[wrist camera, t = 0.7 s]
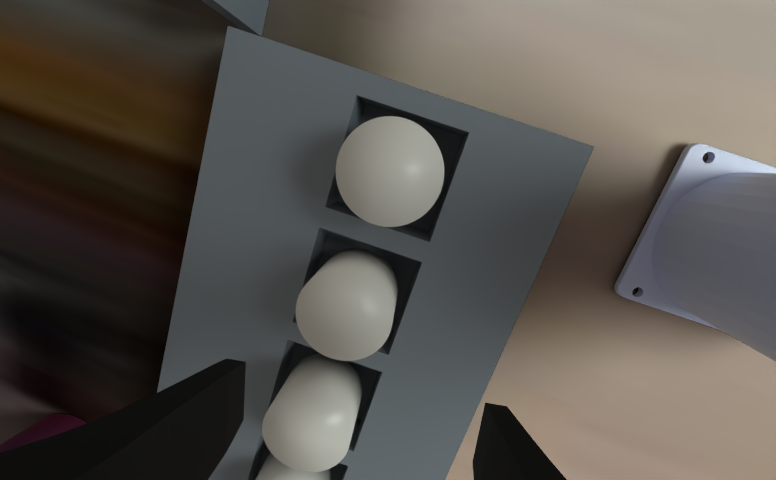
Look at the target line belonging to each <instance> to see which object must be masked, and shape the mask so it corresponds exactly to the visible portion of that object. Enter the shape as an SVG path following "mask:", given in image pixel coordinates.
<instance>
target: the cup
mask: <svg viewBox="0 0 776 480" xmlns="http://www.w3.org/2000/svg"><path fill="white" fill-rule="evenodd" d="M84 424H86V422H85V421H83V420H82V419H80V418H77V417H75V416H72V415H69V414H61V413H59V414H52V415H49V416H47V417H45V418H43V419H42V420H40V421H39V422H37V423H35V424H34V425H32V426H30V427H29V428H27V429H26V430H24V431H22V432H21V433H19V434H17V435H16V436H14V437H13V438H11V439H9V440H8V441H6V442H4V443H3V444H1V445H0V453H1V452H4V451H7V450H10V449H14V448H17V447H20V446H23V445H26V444H29V443H32V442H35V441H38V440H41V439H44V438H47V437H50V436H54V435H57V434H60V433H62V432H65V431H68V430H71V429H73V428H76V427H78V426H81V425H84Z"/></svg>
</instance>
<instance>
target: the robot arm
mask: <svg viewBox="0 0 776 480" xmlns="http://www.w3.org/2000/svg"><path fill="white" fill-rule="evenodd" d="M705 153H707V154H708V160H707V161H706V162H703V155H704V154H705ZM637 287H638V288H639V291H638V292H637V293H636V294H632V292H633V290H634V289H635V288H637ZM614 288H615V291H616V293H617V294H619V295H620V296H622V297H624V298H627V299H629V300H632V301H635V302H638V303H641V304H644V305H647V306H650V307H653V308H656V309H659V310H662V311H665V312H668V313H671V314H674V315H677V316H680V317H683V318H686V319H689V320H692V321H695V322H698V323H701V324H704V325H707V326H710V327H713V328H715V329H718V330H721V331H723V332H725V333H727V334H729V335H730V336H732V337H734V338H736V339H737V340H739V341H741V342H743V343H744V344H746V345H748V346H750V347H751V348H753V349H755V350H757V351H758V352H760V353H762V354H764V355H765V356H767V357H769V358H771V359H772V360H774V361H776V167H773V166H770V165H767V164H764V163H761V162H758V161H755V160H752V159H748V158H745V157H742V156H739V155H736V154H733V153H730V152H727V151H724V150H721V149H718V148H715V147H712V146H709V145H706V144H702V143H693V144H690V145H688V146H687V147H685V149H684V150H683V151H682V153H681V155H680V157H679V159H678V161H677V163H676V165H675V167H674V169H673V171H672V173H671V175H670V177H669V179H668V181H667V183H666V185H665V187H664V189H663V191H662V193H661V195H660V197H659V199H658V201H657V203H656V205H655V207H654V208H653V210H652V212H651V214H650V216H649V218H648V220H647V222H646V224H645V226H644V228H643V230H642V232H641V234H640V236H639V238H638V240H637V242H636V244H635V246H634V248H633V250H632V252H631V254H630V256H629V258H628V260H627V262H626V264H625V266H624V268H623V270H622V272H621V274H620V275H619V277H618V279H617V281H616V283H615V287H614ZM245 371H246V362H244V361H239V360H233V359H224V360H222V361H220V362H218V363H215V364H213V365H211V366H209V367H207V368H205V369H203V370H201V371H199V372H197V373H195V374H194V375H192V376H190V377H188V378H186V379H184V380H182V381H180V382H178V383H176V384H174V385H172V386H170V387H168V388H166V389H164V390H162V391H160V392H158V393H155V394H153V395H151V396H149V397H147V398H145V399H142V400H140V401H138V402H136V403H134V404H131V405H129V406H127V407H125V408H123V409H121V410H118V411H116V412H114V413H111V414H109V415H107V416H104V417H102V418H99V419H97V420H94V421H92V422H89V423H86V424H84V425H81V426H78V427H76V428H73V429H71V430H68V431H65V432H62V433H60V434H57V435H54V436H50V437H47V438H44V439H41V440H38V441H35V442H32V443H29V444H26V445H23V446H20V447H17V448H14V449H10V450H7V451H4V452H1V453H0V480H208V479H209V477H210V476H211V474H212V473H213V472H214V470H215V469H216V467H217V466H218V464H219V463H220V461H221V460H222V458H223V457H224V455H225V454H226V452H227V450H228V448H229V447H230V445H231V443H232V441H233V439H234V437H235V436H236V434H237V432H238V430H239V428H240V426H241V424H242V422H243V420H244V396H245ZM473 472H474V480H566V478H565V477H564V476H563V475H562V474H561V473H560V472H559V470H558V469H557V468H556V467H555V466H554V465H553V463H552V462H551V461H550V460H549V459H548V457H547V456H546V455H545V454H544V453H543V451H542V450H541V449H540V448H539V446H538V445H537V444H536V443H535V441H534V440H533V439H532V438H531V436H530V435H529V434H528V433H527V431H526V430H525V429H524V428H523V426H522V425H521V424H520V422H519V421H518V420H517V419H516V417H515V416H514V415H513V414H512V412H511V411H510V410H509V409H508V407H507V406H501V405H495V404H489V403H485V407H484V412H483V416H482V421H481V426H480V430H479V435H478V440H477V444H476V449H475V454H474V458H473Z"/></svg>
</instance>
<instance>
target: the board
mask: <svg viewBox="0 0 776 480" xmlns="http://www.w3.org/2000/svg"><path fill="white" fill-rule="evenodd" d="M384 116H395V117H402V118H405V119H408V120H411V121H413V122H415V123H417V124H419V125H420V126H421V127H423V128H424V129H425V130H426V131H427V132H428V133H429V134H430V135H431V136H432V137H433V139H434V140H435V141H436V143H437V145H438V147H439V149H440V151H441V154H442V158H443V162H444V181H443V186H442V189H441V192H440V194H439V197H438V199H437V200H436V202H435V204H434V205H433V206H432V207H431V209H430V210H429V211H428V212H427V213H426V214H424V215H423V216H422V217H421V218H419V219H417V220H416V221H414V222H411V223H409V224H406V225H403V226H397V227H383V226H378V225H374V224H371V223H369V222H366V221H365V220H363V219H361V218H360V217H358V216H357V215H356V214H355V213H354V212H352V211H351V210H350V208H349V207H348V206H347V205H346V203H345V202H344V200H343V198H342V196H341V194H340V192H339V189H338V186H337V181H336V162H337V157H338V154H339V151H340V149H341V147H342V145H343V143H344V141H345V140H346V138H347V137H348V136H349V135H350V134H351V132H352V131H353V130H355V129H356V128H357V127H358V126H360V125H361V124H363V123H365V122H367V121H369V120H371V119H375V118H378V117H384ZM593 148H594V146H591V145H588V144H585V143H582V142H579V141H576V140H573V139H569V138H566V137H563V136H560V135H557V134H554V133H551V132H548V131H545V130H542V129H539V128H536V127H533V126H530V125H527V124H524V123H521V122H518V121H515V120H512V119H509V118H506V117H503V116H500V115H497V114H494V113H491V112H488V111H485V110H482V109H479V108H476V107H473V106H470V105H467V104H464V103H460V102H457V101H454V100H451V99H448V98H445V97H442V96H439V95H436V94H433V93H430V92H427V91H424V90H421V89H418V88H415V87H412V86H409V85H406V84H403V83H400V82H397V81H394V80H391V79H388V78H385V77H382V76H379V75H376V74H373V73H370V72H367V71H364V70H361V69H358V68H355V67H352V66H348V65H345V64H342V63H339V62H336V61H333V60H330V59H327V58H324V57H321V56H318V55H315V54H312V53H309V52H306V51H303V50H300V49H297V48H294V47H291V46H288V45H285V44H282V43H279V42H276V41H273V40H270V39H267V38H264V37H261V36H258V35H255V34H252V33H249V32H246V31H243V30H240V29H236V28H233V27H230V26H228V27H227V33H226V38H225V43H224V48H223V53H222V58H221V64H220V69H219V74H218V79H217V84H216V90H215V95H214V100H213V105H212V110H211V115H210V121H209V126H208V131H207V136H206V141H205V146H204V152H203V157H202V162H201V167H200V172H199V177H198V183H197V188H196V193H195V198H194V203H193V208H192V214H191V219H190V224H189V229H188V234H187V239H186V245H185V250H184V255H183V260H182V265H181V270H180V276H179V281H178V286H177V291H176V296H175V301H174V307H173V312H172V317H171V322H170V327H169V332H168V338H167V343H166V348H165V353H164V358H163V363H162V369H161V374H160V379H159V384H158V389H157V393H158V392H160V391H162V390H164V389H166V388H168V387H170V386H172V385H174V384H176V383H178V382H180V381H182V380H184V379H186V378H188V377H190V376H192V375H194V374H195V373H197V372H199V371H201V370H203V369H205V368H207V367H209V366H211V365H213V364H215V363H218V362H220V361H222V360H224V359H233V360H239V361H244V362H246V371H245V396H244V420H243V422H242V424H241V426H240V428H239V430H238V432H237V434H236V436H235V437H234V439H233V441H232V443H231V445H230V447H229V448H228V450H227V452H226V454H225V455H224V457H223V458H222V460H221V461H220V463H219V464H218V466H217V467H216V469H215V470H214V472H213V473H212V474H211V476H210V477H209V479H208V480H255V479H256V478H257V476H258V474H259V472H260V470H261V468H262V466H263V464H264V462H265V460H266V458H267V457H268V455H269V454H270V453H271V452H270V450H269V449H268V447H267V445H266V443H265V441H264V438H263V433H262V424H263V419H264V417H265V414H266V412H267V411H268V409H269V407H270V406H271V404H272V402H273V401H274V399H275V398H276V396H277V394H278V393H279V391H280V389H281V388H282V386H283V385H284V383H285V381H286V380H287V378H288V376H289V375H290V373H291V372H292V370H293V368H294V367H295V366H296V364H297V363H298V362H299V361H301V360H302V359H304V358H306V357H308V356H310V355H314V354H320V353H319V352H317V351H316V350H315V349H313V348H312V347H311V346H310V345H309V344H308V343H307V342H306V340H305V339H304V337H303V336H302V334H301V332H300V330H299V328H298V325H297V321H296V313H295V311H296V303H297V299H298V296H299V294H300V292H301V290H302V289H303V287H304V286H305V285H306V284H307V282H308V281H309V280H310V279H311V278H312V277H313V276H314V275H315V274H316V273H317V272H318V271H319V270H320V268H321V267H322V266H323V265H324V264H325V263H326V262H327V261H328V260H329V259H330V258H331V257H332V256H334V255H335V254H337V253H339V252H341V251H343V250H347V249H353V248H359V249H366V250H369V251H372V252H374V253H376V254H378V255H380V256H381V257H382V258H384V259H385V260H386V261H387V262H388V263H389V265H390V266H391V267H392V269H393V270H394V273H395V275H396V278H397V282H398V295H397V301H396V307H395V312H394V318H393V323H392V328H391V332H390V334H389V336H388V338H387V340H386V342H385V343H384V344H383V346H382V347H381V348H380V349H379V350H377V351H376V352H375V353H373V354H372V355H370V356H368V357H366V358H363V359H359V360H354V361H347V362H348V363H349V364H350V365H351V366H352V367H353V368H354V369H355V370H356V372H357V373H358V375H359V377H360V379H361V382H362V390H363V392H362V398H361V402H360V406H359V410H358V414H357V418H356V422H355V426H354V430H353V433H352V437H351V441H350V445H349V449H348V451H347V454H346V455H345V457H344V458H343V459H342V460H341V461H340V462H339V463H338V464H337V465H335V466H334V467H332V468H330V470H331V474H332V480H445V479H446V476H447V474H448V472H449V470H450V467H451V465H452V463H453V461H454V458H455V456H456V454H457V452H458V450H459V447H460V445H461V443H462V441H463V438H464V436H465V434H466V432H467V429H468V427H469V425H470V423H471V421H472V418H473V416H474V414H475V412H476V409H477V407H478V405H479V403H480V400H481V398H482V396H483V394H484V392H485V389H486V387H487V385H488V383H489V380H490V378H491V376H492V374H493V371H494V369H495V367H496V365H497V363H498V360H499V358H500V356H501V354H502V351H503V349H504V347H505V345H506V342H507V340H508V338H509V336H510V334H511V331H512V329H513V327H514V325H515V322H516V320H517V318H518V316H519V313H520V311H521V309H522V307H523V305H524V302H525V300H526V298H527V296H528V293H529V291H530V289H531V287H532V284H533V282H534V280H535V278H536V276H537V273H538V271H539V269H540V267H541V264H542V262H543V260H544V258H545V255H546V253H547V251H548V249H549V247H550V244H551V242H552V240H553V238H554V235H555V233H556V231H557V229H558V226H559V224H560V222H561V220H562V218H563V215H564V213H565V211H566V209H567V206H568V204H569V202H570V200H571V197H572V195H573V193H574V191H575V189H576V186H577V184H578V182H579V180H580V177H581V175H582V173H583V171H584V168H585V166H586V164H587V162H588V160H589V157H590V155H591V153H592V151H593Z"/></svg>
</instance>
